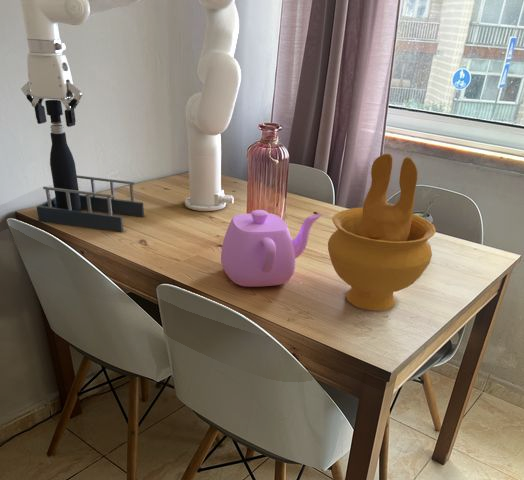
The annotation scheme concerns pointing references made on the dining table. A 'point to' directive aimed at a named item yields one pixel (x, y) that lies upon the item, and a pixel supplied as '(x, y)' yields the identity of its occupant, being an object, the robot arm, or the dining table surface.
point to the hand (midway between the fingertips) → (56, 124)
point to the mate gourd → (425, 214)
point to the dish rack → (91, 208)
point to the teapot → (262, 248)
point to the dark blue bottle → (61, 159)
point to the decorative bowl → (381, 240)
